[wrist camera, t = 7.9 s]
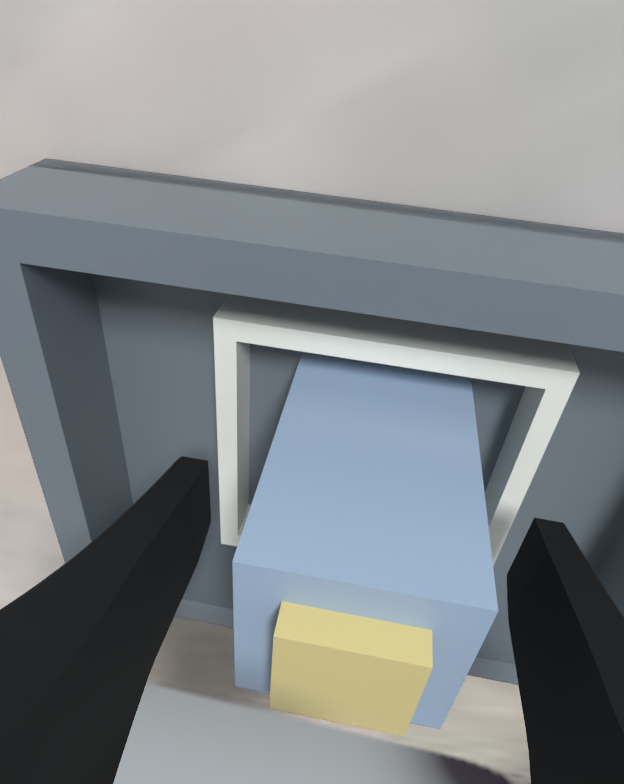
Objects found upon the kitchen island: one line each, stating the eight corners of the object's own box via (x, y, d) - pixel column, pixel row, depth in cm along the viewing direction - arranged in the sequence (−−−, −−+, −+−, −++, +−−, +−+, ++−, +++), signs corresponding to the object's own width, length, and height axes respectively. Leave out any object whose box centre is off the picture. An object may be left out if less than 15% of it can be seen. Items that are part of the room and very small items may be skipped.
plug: (471, 378, 13) (503, 650, 8) (435, 496, 15) (440, 764, 10) (301, 353, 13) (220, 596, 8) (293, 472, 16) (226, 719, 10)
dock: (827, 259, 11) (942, 339, 8) (591, 608, 18) (617, 704, 16) (45, 158, 12) (-49, 201, 10) (119, 520, 19) (75, 596, 17)
